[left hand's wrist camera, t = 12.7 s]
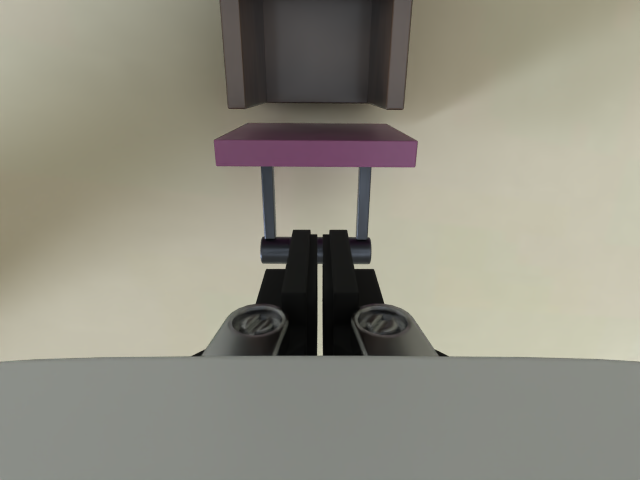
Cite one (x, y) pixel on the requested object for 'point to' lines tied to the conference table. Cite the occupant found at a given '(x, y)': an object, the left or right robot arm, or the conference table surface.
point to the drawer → (315, 94)
